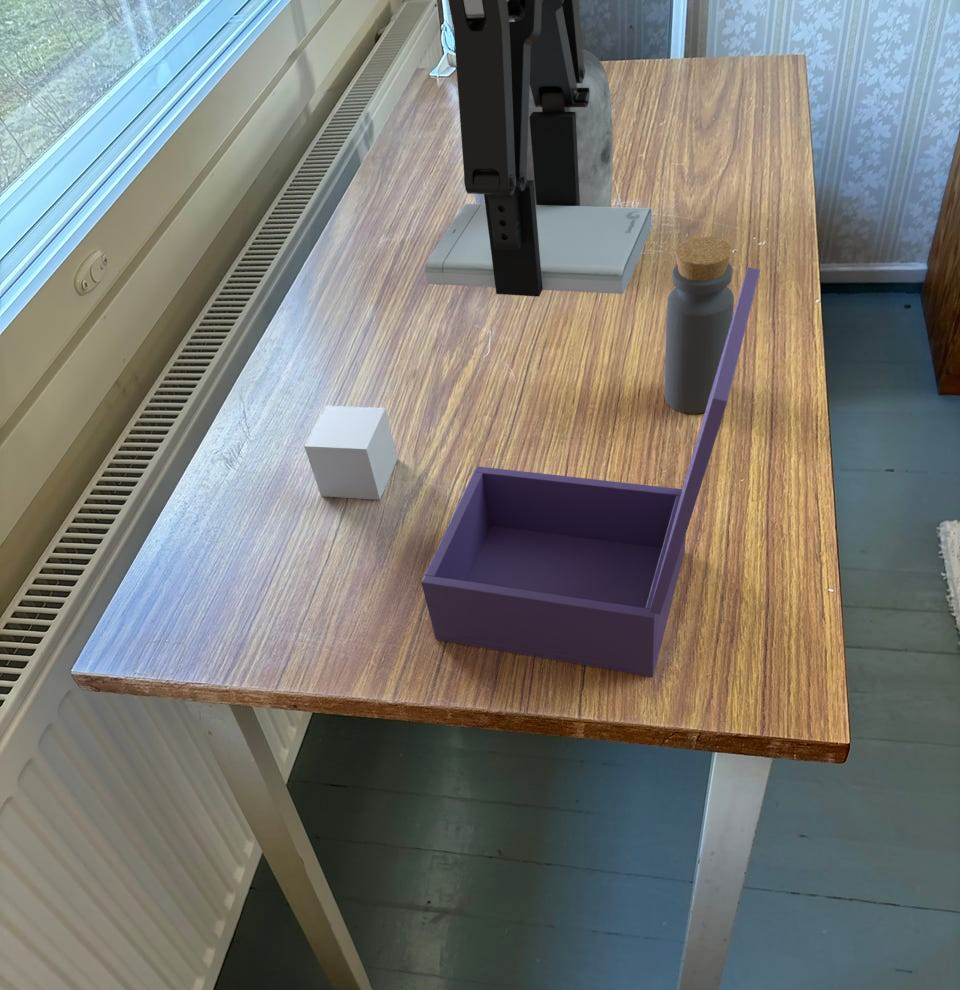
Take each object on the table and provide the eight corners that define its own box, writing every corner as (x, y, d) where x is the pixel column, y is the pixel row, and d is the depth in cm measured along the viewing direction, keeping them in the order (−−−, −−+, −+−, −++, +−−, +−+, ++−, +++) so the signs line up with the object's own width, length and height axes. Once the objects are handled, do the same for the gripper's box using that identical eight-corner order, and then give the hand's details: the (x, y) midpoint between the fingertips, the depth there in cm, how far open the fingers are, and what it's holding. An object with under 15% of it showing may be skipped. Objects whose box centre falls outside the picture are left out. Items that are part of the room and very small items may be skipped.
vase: (496, 299, 107) (459, -4, 84) (470, 235, 118) (431, -50, 95) (631, 269, 108) (630, -41, 85) (593, 208, 118) (584, -82, 95)
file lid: (712, 398, 50) (727, 401, 50) (747, 266, 58) (760, 269, 58) (649, 612, 65) (660, 615, 65) (683, 483, 73) (694, 486, 72)
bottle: (723, 415, 89) (736, 267, 77) (660, 413, 90) (665, 267, 79) (727, 379, 92) (740, 232, 81) (667, 377, 94) (672, 232, 82)
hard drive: (652, 204, 58) (466, 198, 62) (622, 272, 54) (423, 262, 57) (651, 230, 60) (469, 223, 63) (622, 299, 55) (427, 287, 58)
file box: (435, 640, 75) (420, 582, 70) (486, 525, 83) (476, 465, 78) (652, 677, 70) (654, 618, 65) (685, 551, 78) (688, 489, 73)
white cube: (397, 458, 91) (385, 407, 86) (380, 500, 87) (366, 449, 83) (340, 455, 92) (325, 405, 88) (320, 496, 89) (303, 446, 84)
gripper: (493, -265, 49) (530, 176, 66) (328, -165, 37) (426, 344, 54) (635, -284, 47) (635, 178, 64) (509, -183, 34) (551, 354, 52)
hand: (540, 253), depth 59 cm, fingers closed on hard drive, 8 cm apart
